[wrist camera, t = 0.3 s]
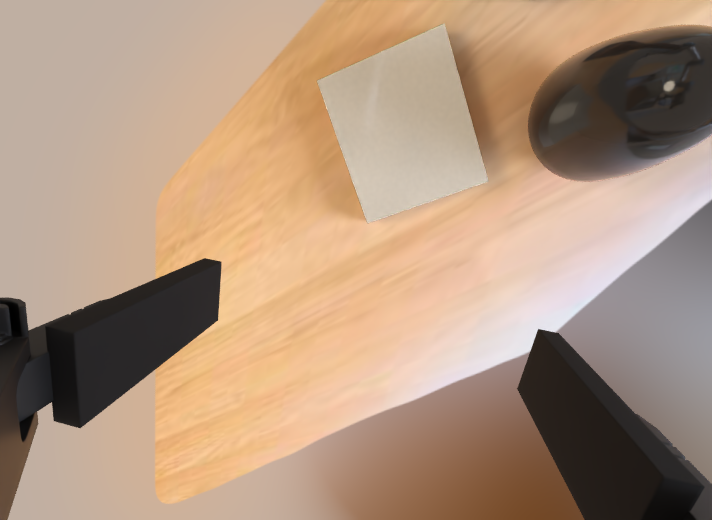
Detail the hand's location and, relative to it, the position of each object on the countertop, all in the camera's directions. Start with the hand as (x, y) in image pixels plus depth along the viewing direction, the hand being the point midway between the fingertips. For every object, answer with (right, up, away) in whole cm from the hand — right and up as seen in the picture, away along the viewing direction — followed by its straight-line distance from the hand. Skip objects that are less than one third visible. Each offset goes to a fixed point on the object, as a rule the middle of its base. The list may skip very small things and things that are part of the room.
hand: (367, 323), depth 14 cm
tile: (+4, +15, +19) cm, 25 cm away
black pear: (+20, +15, +17) cm, 30 cm away
